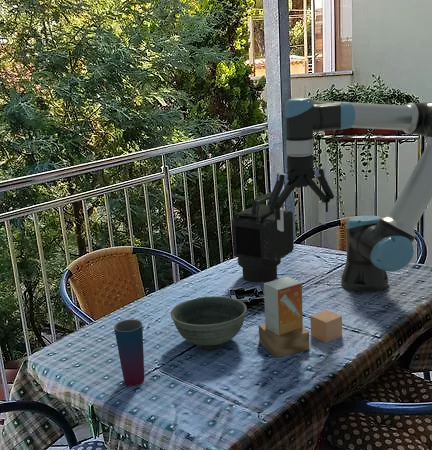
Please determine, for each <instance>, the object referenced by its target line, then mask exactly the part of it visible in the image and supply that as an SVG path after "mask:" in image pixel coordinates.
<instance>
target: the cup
mask: <svg viewBox="0 0 432 450" xmlns="http://www.w3.org/2000/svg"><path fill="white" fill-rule="evenodd" d="M143 328H144V327H143V321H141V320H139V319H133V318H132V319H123V320H121V321H118V322H117V323H115V325H114V326H113V329H114V335H115V340H116V345H117V350H118V357H119V361H120V367H121V371H122V377H123V383H124V384H125V385H126V386H129V387H134V386H139V385H141V384H143V383H144V382H145V361H144V360H145V355H144V353H145V352H144V335H143V332H144V331H143Z"/></svg>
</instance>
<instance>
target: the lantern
mask: <svg viewBox="0 0 432 450" xmlns="http://www.w3.org/2000/svg"><path fill="white" fill-rule="evenodd" d="M271 194H272V191H270V192H268V193H265V194H263V195H262V194H261V196H258V197H256V198H254V199H253V200H252V206H251V207H248V208H247V209H244V210H242V211H239V212H237V213H235V214H234V215H233V218H232V219H231V222H230V223H231V236H232V237H231V238H232V255H233V257H237V264H238V266H239V267H241V269H242V279H243V281H245V282H248V283H253V284H264V283H267V282H271V281H273V280H277V278H278V266H279V265H280V264H281V263H282V258H285V257H286V256H288V255H289V254H291V253H292V252H293V251H294V248H295V247H294V217H293V216H294V215H293V212H292V211H289V210H285V208H284V207H285V206H286V203H285V202H284V204H283V205H282V207H281V208H282V209H283V220H284V231H282V232H281V231H279V230H278V229H277V220H276V219H275V218H274V208H271V207H269V206H268V205H267V204H261V203H264V202H266V201H269V199H270V196H271Z"/></svg>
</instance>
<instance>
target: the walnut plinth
mask: <svg viewBox="0 0 432 450" xmlns="http://www.w3.org/2000/svg"><path fill="white" fill-rule="evenodd" d="M258 341H259V343H260V344H261V345H262V346H263V347H264V348H265V349H266V350H267V351H268V352H269V354H271V355H272V356H273V358H275V359H276V358H281V357H283V356H284V357H285V356H288V355H293V354H297V353H300V352H304V351H308V350H309V351H310V332H309V331H308V330H307V329H306V328H305V327H303V328H301V329H297V330H294V331H291V332H288V333H285V334H283V335H280V336H278V335H277V334H275V333H273V332H272V331H270V330H268V329H267V328H266V327H265V323H261V324H258Z"/></svg>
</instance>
